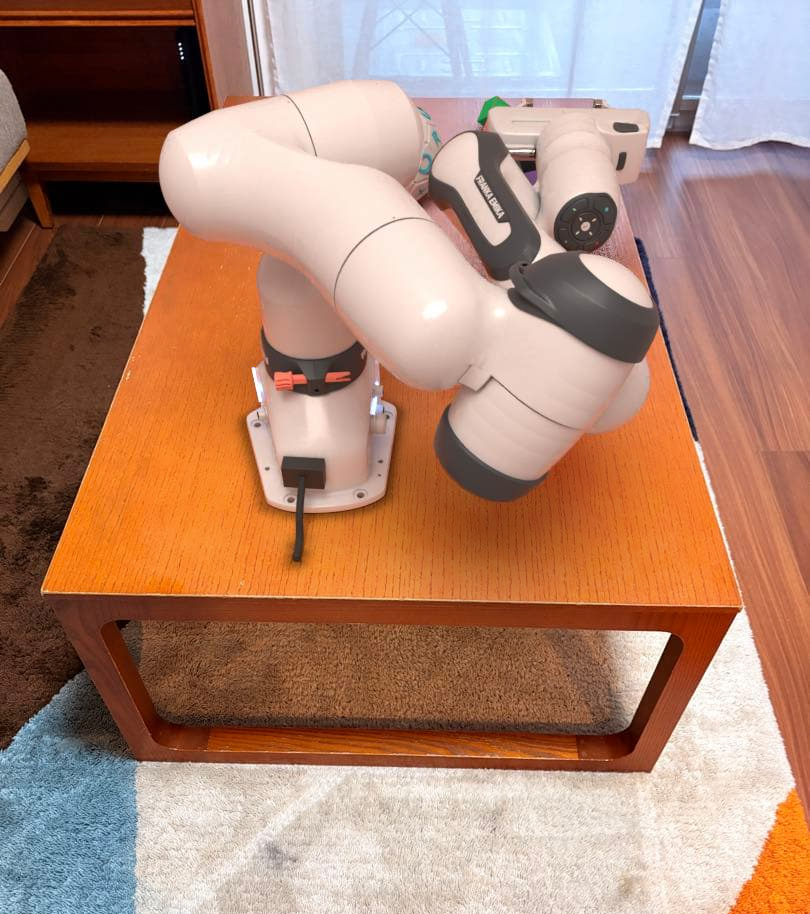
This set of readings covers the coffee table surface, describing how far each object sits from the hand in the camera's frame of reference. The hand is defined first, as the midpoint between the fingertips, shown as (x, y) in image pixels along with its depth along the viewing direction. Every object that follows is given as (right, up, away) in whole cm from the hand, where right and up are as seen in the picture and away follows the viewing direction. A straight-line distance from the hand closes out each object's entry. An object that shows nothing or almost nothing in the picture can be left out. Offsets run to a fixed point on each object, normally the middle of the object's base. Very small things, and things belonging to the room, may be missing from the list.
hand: (562, 104), depth 108 cm
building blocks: (-2, +14, +41) cm, 43 cm away
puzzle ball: (-22, -1, +29) cm, 36 cm away
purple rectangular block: (0, -12, +18) cm, 22 cm away
